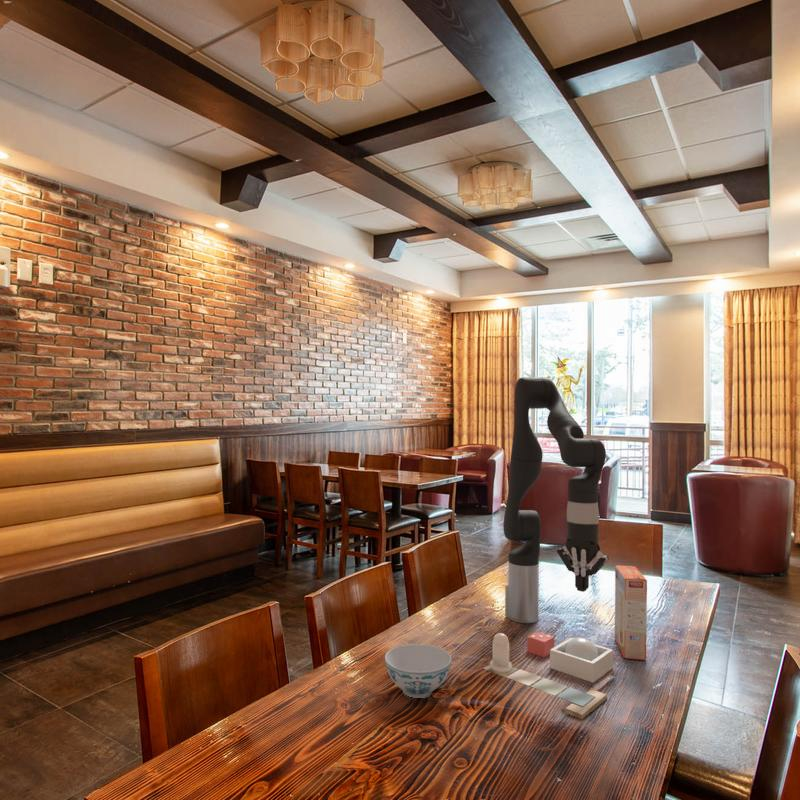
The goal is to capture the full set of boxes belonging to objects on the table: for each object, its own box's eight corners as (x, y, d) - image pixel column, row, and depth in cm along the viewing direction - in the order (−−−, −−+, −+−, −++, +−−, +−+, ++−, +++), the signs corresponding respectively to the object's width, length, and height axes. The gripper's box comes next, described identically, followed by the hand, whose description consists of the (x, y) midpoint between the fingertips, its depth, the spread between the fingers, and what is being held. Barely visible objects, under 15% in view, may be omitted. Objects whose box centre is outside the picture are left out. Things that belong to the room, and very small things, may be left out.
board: (471, 675, 137) (471, 670, 137) (499, 660, 146) (499, 655, 146) (582, 719, 118) (581, 713, 118) (606, 699, 127) (606, 693, 127)
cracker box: (647, 661, 147) (648, 579, 147) (623, 659, 148) (623, 577, 148) (636, 640, 160) (636, 565, 161) (614, 638, 162) (614, 564, 162)
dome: (558, 671, 140) (558, 638, 140) (573, 661, 145) (574, 629, 146) (589, 682, 134) (590, 648, 134) (604, 671, 140) (604, 638, 140)
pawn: (485, 668, 139) (485, 633, 139) (497, 662, 142) (498, 627, 143) (503, 675, 135) (504, 639, 135) (515, 668, 139) (516, 633, 139)
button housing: (549, 672, 140) (550, 649, 140) (571, 659, 148) (571, 637, 148) (593, 687, 132) (593, 663, 132) (613, 672, 140) (613, 649, 140)
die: (527, 656, 149) (527, 636, 149) (537, 650, 153) (537, 631, 153) (544, 661, 146) (544, 641, 146) (554, 656, 149) (554, 636, 149)
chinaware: (460, 684, 133) (460, 650, 133) (436, 714, 119) (437, 677, 119) (401, 671, 139) (401, 639, 139) (372, 699, 126) (373, 663, 126)
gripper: (550, 517, 142) (549, 587, 142) (602, 525, 133) (601, 600, 133) (564, 514, 148) (564, 581, 148) (615, 521, 139) (614, 593, 139)
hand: (582, 590), depth 140 cm, fingers closed
